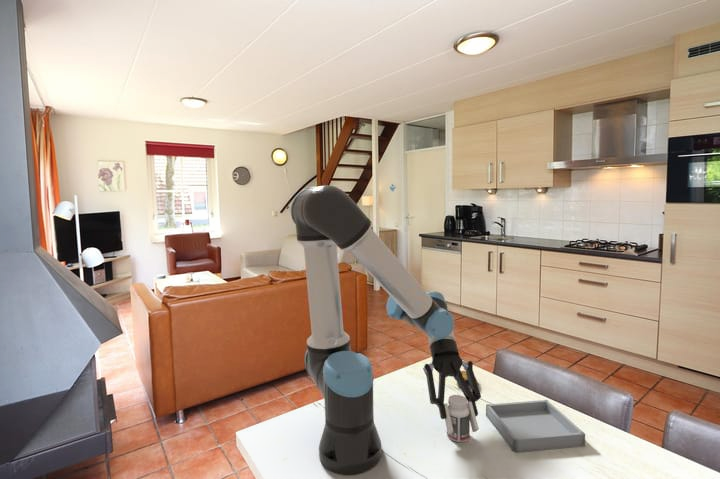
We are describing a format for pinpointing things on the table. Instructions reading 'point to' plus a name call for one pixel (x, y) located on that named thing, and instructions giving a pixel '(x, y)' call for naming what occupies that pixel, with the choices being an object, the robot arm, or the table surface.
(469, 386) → the pastry
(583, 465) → the table surface
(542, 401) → the tray
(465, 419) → the pill bottle
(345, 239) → the robot arm
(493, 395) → the table surface
